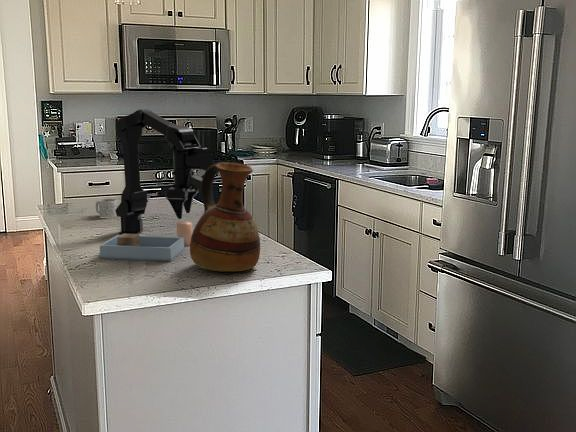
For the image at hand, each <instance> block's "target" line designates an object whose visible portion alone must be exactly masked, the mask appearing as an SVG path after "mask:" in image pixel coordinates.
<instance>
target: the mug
mask: <svg viewBox="0 0 576 432" xmlns="http://www.w3.org/2000/svg"><path fill="white" fill-rule="evenodd" d="M117 207H118V201H117V198H103V199H99V200H97V201H95V211H96V213H97V214H99V218H100V217H115V216H117V215H116V211H115V210H116V209H117ZM117 217H118V216H117Z"/></svg>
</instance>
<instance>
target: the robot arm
mask: <svg viewBox="0 0 576 432" xmlns="http://www.w3.org/2000/svg"><path fill="white" fill-rule="evenodd" d="M146 127H149V128H151V129H152V130H154V131H156V132H157V133H159V134H161V135H162V136H164V137H165V140H166V141H167V142H168V143H169V144H170V145H171V148H169V149H168V151H167V153H170V154H172V155H173V157H172V159H173V170H172V171H171V175H173V184H171V185H172V186H171V187H169V188H167V190H166V191H165V195H164V196H165V199H166V200H167V201H168V203H169V204H170V206H171V208H172V210H173V211H174V213H175V215H176V218H177V219H178V220H182V218H183V213H184V211H185V213H186V214H190V212H191V209H192V205H193V201H194V197H195V196H196V195H197V194H198V193H199V191H200V192H201V183H202V179H203V176H204V174H203V175H201V176H200V175H196V172H195V171H196V170H199V171H206V170H207V169H208V168H209V167H211V166H212V165H213V158H212V155H211V153H209V152H208V148H207V147H202V146H201V144H200V142H199V140H198V139H197V136H196V135H195V133H194V130H193V129H192V128H191V127H188V126H185V125H181V124H180V125H179V124H176V123H172V122H171V121H169V120H167V119H165V118H163V117H162V116H160V115H158V114H156V113H155V112H153V111H152V110H151V109H148V108H146V109H145V108H144V109H138V110H136V111H134V112H133V113H130V114H128V115H125V116H123V117H119V118H118V119H117V121H116V122H115V130H116V135H117V138H118V139H119V141H120V143H121V144H122V154H123V155H122V156H123V169H124V183H125V185H124V188H123V190H122V193H121V196H120V203H119V204H118V205H117V209H116V210H115V211H116V215H117V217H120V231H119V233H118V235H122V234H139V235H140V233H141V232H144V227H143V226H144V225H143V223H144V222H143V221H144V220H143V218H142V215H144V214H145V212H146V209H147V205H148V203H149V201H148V192H147V190H144V189H143V188H142V186H141V173H140V159H139V158H140V155H139V142H140V140H141V139H142V136H143V129H144V128H146ZM194 170H195V171H194Z"/></svg>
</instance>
